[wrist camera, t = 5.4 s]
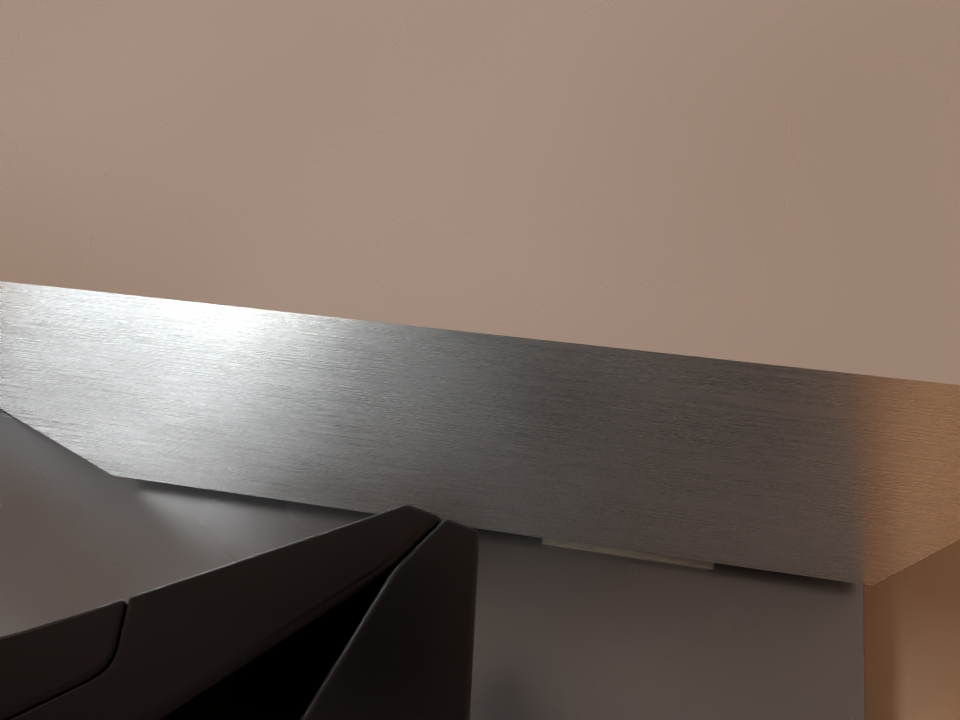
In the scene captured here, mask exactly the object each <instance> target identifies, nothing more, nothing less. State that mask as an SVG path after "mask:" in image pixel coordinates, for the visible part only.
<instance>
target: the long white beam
mask: <svg viewBox="0 0 960 720" xmlns="http://www.w3.org/2000/svg"><path fill="white" fill-rule="evenodd" d="M0 409H2V410H4V411H5V412H7V413H9V414H10V415H12V416H14V417H15V418H17V419H19V420H20V421H22V422H24V423H25V424H27V425H29V426H30V427H32V428H34V429H35V430H37V431H39V432H41V433H42V434H44V435H46V436H47V437H49V438H51V439H52V440H54V441H56V442H57V443H59V444H61V445H62V446H64V447H66V448H67V449H69V450H71V451H73V452H74V453H76V454H78V455H79V456H81V457H83V458H84V459H86V460H88V461H89V462H91V463H93V464H94V465H96V466H98V467H99V468H101V469H103V470H104V471H106V472H108V473H110V474H111V475H113V476H120V477H127V478H134V479H141V480H148V481H155V482H161V483H168V484H175V485H182V486H189V487H196V488H203V489H210V490H216V491H223V492H230V493H237V494H244V495H251V496H258V497H265V498H272V499H278V500H285V501H292V502H299V503H306V504H313V505H320V506H327V507H334V508H340V509H347V510H354V511H361V512H368V513H375V514H380V513H383V512H386V511H389V510H392V509H395V508H398V507H401V506H405V505H411V506H414V507H417V508H419V509H422V510H425V511H427V512H430V513H432V514H435V515H437V516H439V517H440V518H441V521H443V520H451V521H454V522H457V523H459V524H462V525H465V526H467V527H471V528H478V529H485V530H492V531H499V532H506V533H513V534H519V535H526V536H533V537H540V538H547V539H554V540H561V541H568V542H575V543H581V544H588V545H595V546H602V547H609V548H616V549H623V550H630V551H636V552H643V553H650V554H657V555H664V556H671V557H678V558H685V559H692V560H698V561H705V562H712V563H719V564H726V565H733V566H740V567H747V568H754V569H760V570H767V571H774V572H781V573H788V574H795V575H802V576H809V577H816V578H822V579H829V580H836V581H843V582H850V583H857V584H864V585H871V586H873V585H875V584H877V583H879V582H881V581H883V580H885V579H886V578H888V577H890V576H892V575H894V574H896V573H898V572H899V571H901V570H903V569H905V568H907V567H909V566H911V565H913V564H914V563H916V562H918V561H920V560H922V559H924V558H926V557H928V556H929V555H931V554H933V553H935V552H937V551H939V550H941V549H942V548H944V547H946V546H948V545H950V544H952V543H954V542H956V541H957V540H959V539H960V0H0Z"/></svg>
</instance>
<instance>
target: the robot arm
mask: <svg viewBox="0 0 960 720" xmlns="http://www.w3.org/2000/svg"><path fill="white" fill-rule="evenodd" d="M478 554H479V533H478V531H477V530H475V529H473V528H470V527H467V526H465V525H462V524H459V523H457V522H454V521H451V520H443V521H441V518H440V517H439V516H437V515H435V514H432V513H430V512H427V511H425V510H422V509H419V508H417V507H414V506H411V505H405V506H401V507H398V508H395V509H392V510H389V511H386V512H383V513H380V514H377V515H374V516H371V517H368V518H365V519H362V520H359V521H356V522H353V523H350V524H347V525H344V526H341V527H338V528H335V529H332V530H329V531H326V532H323V533H320V534H317V535H314V536H311V537H308V538H305V539H302V540H299V541H296V542H293V543H290V544H287V545H284V546H281V547H278V548H275V549H272V550H269V551H266V552H263V553H260V554H257V555H254V556H251V557H248V558H245V559H242V560H239V561H236V562H233V563H230V564H227V565H224V566H221V567H218V568H215V569H212V570H209V571H206V572H203V573H200V574H197V575H194V576H191V577H188V578H185V579H182V580H179V581H176V582H173V583H170V584H167V585H164V586H161V587H158V588H155V589H152V590H149V591H146V592H143V593H140V594H137V595H134V596H131V597H130V598H129V599H128V601H127V604H126V602H125V601H124V600H118V601H115V602H112V603H109V604H106V605H103V606H100V607H97V608H94V609H91V610H88V611H85V612H82V613H79V614H76V615H73V616H69V617H66V618H63V619H60V620H56V621H53V622H50V623H47V624H44V625H40V626H37V627H34V628H31V629H27V630H24V631H20V632H17V633H13V634H9V635H5V636H2V637H0V720H470V710H471V690H472V671H473V651H474V632H475V612H476V593H477V573H478Z"/></svg>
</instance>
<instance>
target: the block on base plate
mask: <svg viewBox="0 0 960 720" xmlns="http://www.w3.org/2000/svg"><path fill="white" fill-rule="evenodd" d="M374 515H377V514H375V513H368V512H361V511H354V510H347V509H340V508H334V507H327V506H320V505H313V504H306V503H299V502H292V501H285V500H278V499H272V498H265V497H258V496H251V495H244V494H237V493H230V492H223V491H216V490H210V489H203V488H196V487H189V486H182V485H175V484H168V483H161V482H155V481H148V480H141V479H134V478H127V477H120V476H113V475H111V474H110V473H108V472H106V471H104V470H103V469H101V468H99V467H98V466H96V465H94V464H93V463H91V462H89V461H88V460H86V459H84V458H83V457H81V456H79V455H78V454H76V453H74V452H73V451H71V450H69V449H67V448H66V447H64V446H62V445H61V444H59V443H57V442H56V441H54V440H52V439H51V438H49V437H47V436H46V435H44V434H42V433H41V432H39V431H37V430H35V429H34V428H32V427H30V426H29V425H27V424H25V423H24V422H22V421H20V420H19V419H17V418H15V417H14V416H12V415H10V414H9V413H7V412H5V411H4V410H2V409H0V637H2V636H5V635H9V634H13V633H17V632H20V631H24V630H27V629H31V628H34V627H37V626H40V625H44V624H47V623H50V622H53V621H56V620H60V619H63V618H66V617H69V616H73V615H76V614H79V613H82V612H85V611H88V610H91V609H94V608H97V607H100V606H103V605H106V604H109V603H112V602H115V601H118V600H124V601H125V602H126V604H127V601H128V599H129V598H130V597H131V596H134V595H137V594H140V593H143V592H146V591H149V590H152V589H155V588H158V587H161V586H164V585H167V584H170V583H173V582H176V581H179V580H182V579H185V578H188V577H191V576H194V575H197V574H200V573H203V572H206V571H209V570H212V569H215V568H218V567H221V566H224V565H227V564H230V563H233V562H236V561H239V560H242V559H245V558H248V557H251V556H254V555H257V554H260V553H263V552H266V551H269V550H272V549H275V548H278V547H281V546H284V545H287V544H290V543H293V542H296V541H299V540H302V539H305V538H308V537H311V536H314V535H317V534H320V533H323V532H326V531H329V530H332V529H335V528H338V527H341V526H344V525H347V524H350V523H353V522H356V521H359V520H362V519H365V518H368V517H371V516H374ZM470 528H471V527H470ZM473 529H475V530H477V531H478V533H479V554H478V573H477V593H476V612H475V632H474V651H473V671H472V690H471V710H470V720H865V685H864V612H863V584H857V583H850V582H843V581H836V580H829V579H822V578H816V577H809V576H802V575H795V574H788V573H781V572H774V571H767V570H760V569H754V568H747V567H740V566H733V565H726V564H719V563H712V562H705V561H698V560H692V559H685V558H678V557H671V556H664V555H657V554H650V553H643V552H636V551H630V550H623V549H616V548H609V547H602V546H595V545H588V544H581V543H575V542H568V541H561V540H554V539H547V538H540V537H533V536H526V535H519V534H513V533H506V532H499V531H492V530H485V529H478V528H473Z"/></svg>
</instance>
